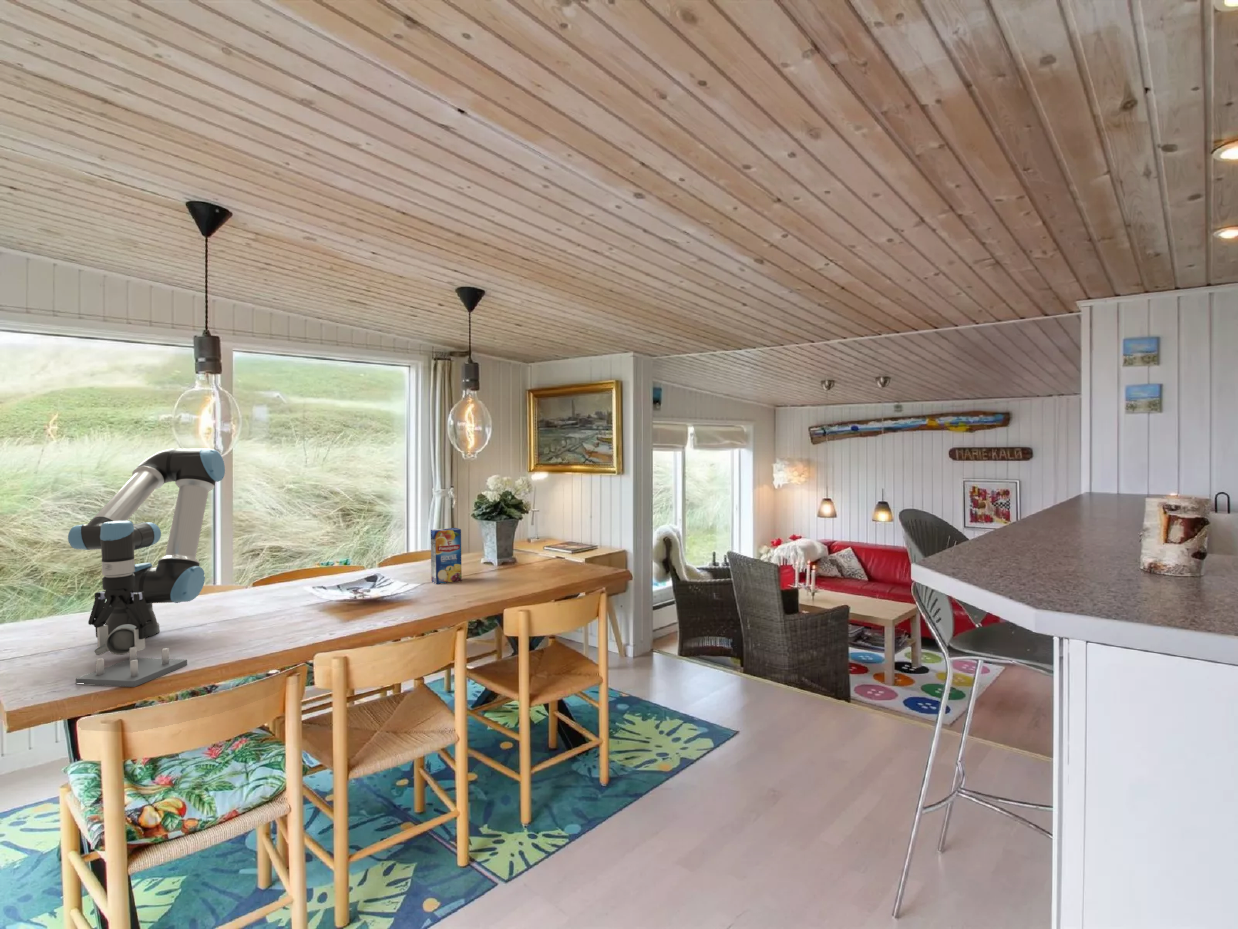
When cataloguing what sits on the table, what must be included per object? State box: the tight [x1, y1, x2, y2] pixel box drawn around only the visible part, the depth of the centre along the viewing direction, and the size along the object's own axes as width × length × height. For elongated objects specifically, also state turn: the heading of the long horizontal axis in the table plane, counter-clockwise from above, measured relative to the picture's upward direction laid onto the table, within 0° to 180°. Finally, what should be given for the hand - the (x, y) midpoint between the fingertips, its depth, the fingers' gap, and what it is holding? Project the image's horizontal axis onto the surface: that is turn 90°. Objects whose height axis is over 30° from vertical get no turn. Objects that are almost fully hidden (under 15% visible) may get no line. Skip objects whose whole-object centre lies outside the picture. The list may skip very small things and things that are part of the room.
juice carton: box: [430, 527, 463, 585], centre depth 296 cm, size 12×8×24 cm, turn 123°
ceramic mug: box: [94, 624, 136, 656], centre depth 187 cm, size 11×8×8 cm
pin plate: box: [75, 647, 188, 688], centre depth 174 cm, size 17×17×6 cm
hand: (121, 649), depth 187 cm, fingers closed on ceramic mug, 11 cm apart
